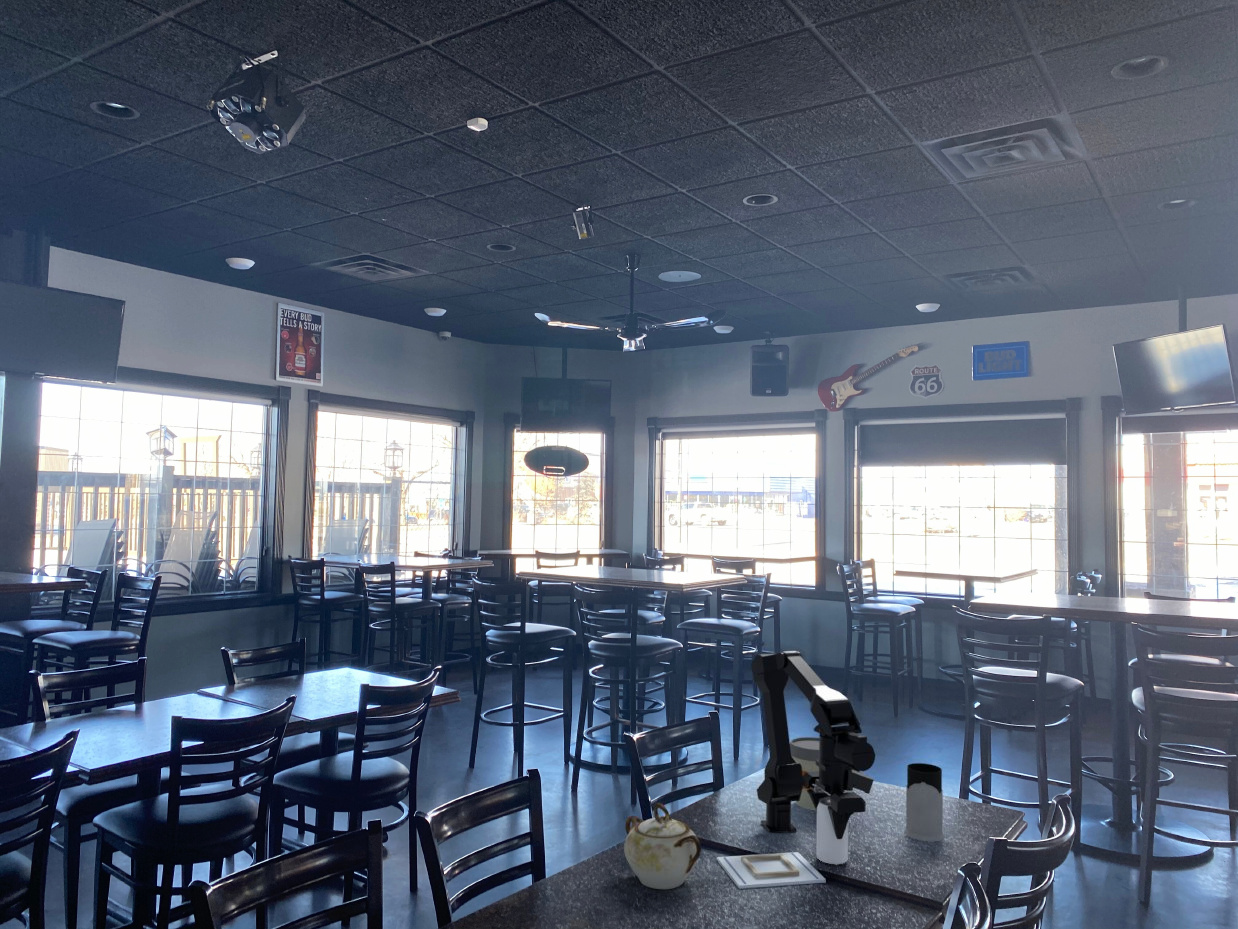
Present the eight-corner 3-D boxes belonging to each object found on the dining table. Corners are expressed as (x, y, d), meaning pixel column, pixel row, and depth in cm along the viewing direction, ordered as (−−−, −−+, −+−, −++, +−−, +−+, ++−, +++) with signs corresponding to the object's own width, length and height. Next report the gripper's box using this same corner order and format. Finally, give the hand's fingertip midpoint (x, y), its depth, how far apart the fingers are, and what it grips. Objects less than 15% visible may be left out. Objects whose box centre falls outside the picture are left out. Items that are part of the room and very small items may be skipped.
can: (848, 867, 185) (849, 808, 185) (816, 864, 186) (817, 805, 187) (847, 855, 191) (847, 798, 192) (816, 852, 193) (816, 795, 193)
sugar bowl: (599, 876, 179) (600, 799, 179) (650, 856, 189) (651, 784, 190) (673, 909, 165) (674, 826, 166) (724, 885, 175) (725, 807, 176)
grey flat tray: (716, 860, 188) (716, 856, 188) (797, 855, 191) (797, 851, 191) (738, 888, 174) (739, 885, 174) (825, 882, 178) (825, 878, 178)
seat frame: (741, 860, 186) (741, 856, 186) (782, 858, 188) (782, 854, 188) (756, 878, 177) (756, 874, 177) (799, 875, 179) (799, 871, 179)
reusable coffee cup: (834, 816, 216) (834, 752, 216) (782, 807, 221) (783, 746, 222) (844, 800, 227) (845, 740, 228) (795, 793, 233) (796, 734, 233)
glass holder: (902, 838, 202) (902, 770, 203) (907, 818, 215) (907, 754, 216) (943, 844, 199) (944, 775, 200) (946, 823, 212) (946, 759, 213)
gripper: (889, 769, 182) (889, 847, 181) (848, 744, 200) (847, 815, 200) (838, 771, 180) (838, 851, 179) (801, 746, 198) (800, 818, 197)
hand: (832, 832), depth 189 cm, fingers closed on can, 6 cm apart
